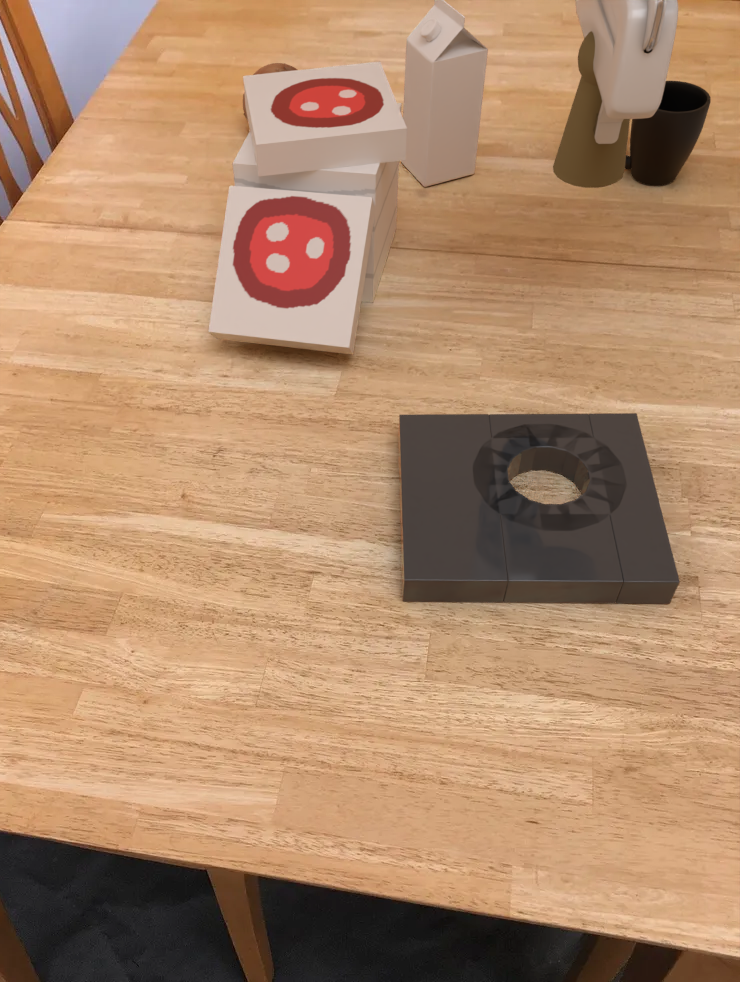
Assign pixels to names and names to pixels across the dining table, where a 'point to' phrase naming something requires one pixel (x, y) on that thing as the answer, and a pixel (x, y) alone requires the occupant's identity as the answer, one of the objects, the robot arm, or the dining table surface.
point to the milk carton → (442, 96)
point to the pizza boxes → (309, 207)
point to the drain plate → (530, 511)
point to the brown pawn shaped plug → (589, 134)
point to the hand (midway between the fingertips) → (599, 121)
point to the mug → (667, 134)
